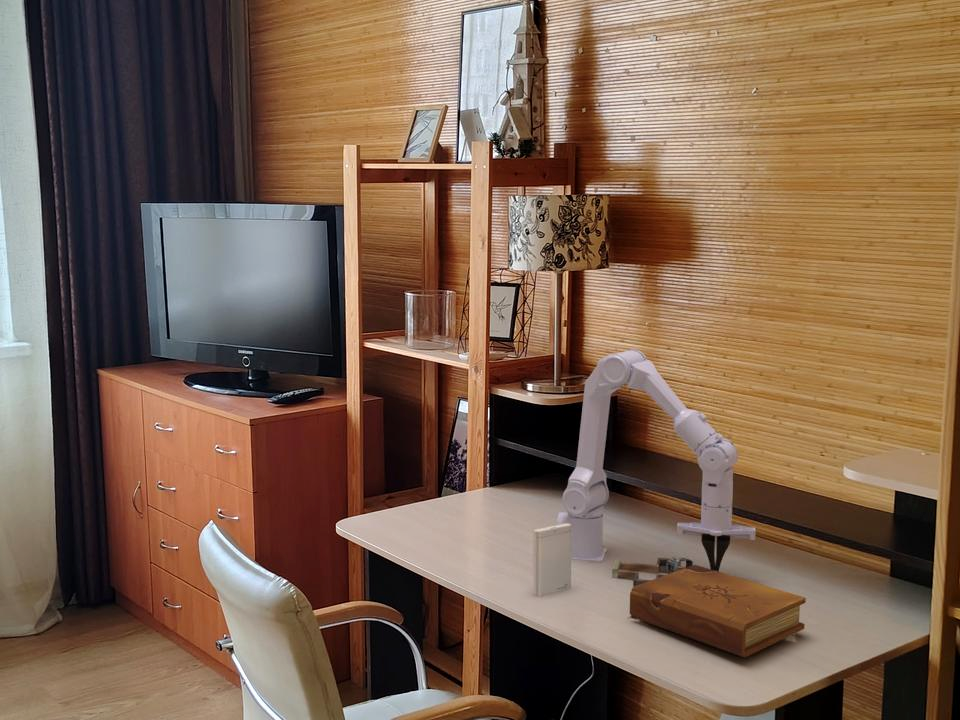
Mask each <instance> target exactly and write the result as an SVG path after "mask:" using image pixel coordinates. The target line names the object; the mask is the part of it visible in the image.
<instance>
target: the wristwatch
mask: <svg viewBox="0 0 960 720" xmlns="http://www.w3.org/2000/svg"><path fill="white" fill-rule="evenodd" d="M680 561H681V562H685V567H686V568H687V567H690V566H693V565H694V562H693V560H691V559H690V558H686V557H677V556H672V557H670V558H669V560H668V561H667V563H666V572H667V573H666V574H670V573H673V572H676V571H679V570H678V563H679V562H680Z"/></svg>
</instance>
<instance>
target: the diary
mask: <svg viewBox="0 0 960 720" xmlns="http://www.w3.org/2000/svg"><path fill="white" fill-rule="evenodd" d="M666 574H667V575H665V576H662V577H659V578H656V577H655V578H654V579H650V580H651V581H648V582H645V583H642V584H639V585H637V586H634V587H633V586H632V588H631V590H630V593H629V614H630V616H631V617H634V618H635V619H636V620H639V621H642V622H645V623H648V624H650V625H653V626H656V627H659V628H662V629H664V630H667V631H670V632H672V633H675V634H678V635H681V636H683V637H686V638H688V639H689V638H690V639H692V640H695V641H698V642H700V643H702V644H706V645H709V646H711V647H715V648H717V649H720V650H722V651H725V652H728V653H731V654H733V655H737V656H739V657H741V658H742V657H743V658H747V657H749V656H751V655H752V654H755V653H757V652H759V651H761V650H763V649H765V648H767V647H770V646H772V645H773V644H776V643H778V642H780V641H782V640H784V639H786V638H789V637H791V636H792V635H795V634H796V633H799V632H801V631H803V630H805V623H803V622H801V621H800V613H801V612H800V611H801V606H802V605H803V604H806V603H807V602H806V601H807V599H806V597H805V596H802V595H798V594H795V593H791V592H788V591H785V590H781V589H777V588H775V587H771V586H767V585H764V584H761V583H758V582H755V581H752V580H748V579H744V578H741V577H737V576H734V575H732V574H727V573H724V572H721V571H719V572H718V571H714V570H711V568H707V567H704V566H701V565H698V564H693V566H690V567H687V568H684V569H681V570H679V571H676V572H673V573H670V574H668V573H666Z"/></svg>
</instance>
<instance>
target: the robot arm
mask: <svg viewBox="0 0 960 720" xmlns="http://www.w3.org/2000/svg"><path fill="white" fill-rule="evenodd" d="M626 384H627V386H626V389H631V390H637V391H643V392H645V393H646V394H647V395H648V396H649V397H650V398H651V399H652V401H654V402H655V403H656V404H657V405H658V406H659V407H660V408H661V409H662V410H663V411H664V413H666V414H667V415H668V416H669V417H670V419H672V421H673V430H674V432H676V434H677V435H678V436H679V437H680V439H681V440H682V441H683V442H684V443H685V444H686V446H688V447H689V449H691V451H692V452H693V453H694V454H695V455H696V456H698V457H697V464H698V466H699V468H700V469H701V471H702V480H701V507H700V508H701V509H700V510H701V512H700V516H701V517H700V522H677V527H676V530H677V531H676V532H677V533H676V535H677V536H684V535H688V536H689V535H690V536H701V544H702V547H703V549H704V551H705V553H706V556H707V558H708V561H709V562H708V563H709V567H710V568H709V569H711V570H714V571H718V572H720V567H721V564H722V561H723V558H724V556H725V553H726V552H727V550H728V547H729V546H730V545H731V538H733V539H748V540H750V541H755V540H756V527H753V526H744V525H737V524H733V523H732V522H733V517H732V516H733V496H734V495H733V493H734V491H733V489H734V480H733V479H734V468H733V466H735V464H736V463H737V461H738V457H739V453H738V450H737V447H736V446H735V445H734V442H732V440H730V439H728V438H724V436H723V435H722V434H721V433H717V432H716V430H715V429H714V428H713V427H712V426H711V424H710V423H709V422H708V421H707V420H706V419H707V416H706V415H705V414H704V412H701V413H700V412H699V411H698V410H696V409H689V408H687V407H686V406H685V405H684V403H683V402H682V400H681V399H680V398H679V397H678V396H677V395H676V393H675V392H674V391H673V389H672V388H671V387H670V386H669V384H668V383H667V381H665V380H664V378H663V377H662V376H661V374H660V372H658V370H657V368H656V366H655V364H654V363H653V361H651V360H649V359H647V356H646V355H645V354H644V353H643V352H642V351H640V350H637V349H636V348H635V349H634V348H631V349H628V350H626V351H622V352H618V353H611V354H610V353H609V354H608V355H606V356H603V358H601V359H599V360H598V361H597V364H596V367H595V368H594V369H593V370H592V373H590V375H589V376H588V378H587V379H586V381H585V383H584V389H583V401H582V408H581V409H582V411H581V419H580V427H579V439H578V447H577V457H576V466H575V468H574V470H573V471H572V473H571V474H570V476H569V478H568V479H567V481H568V482H567V486H566V488H565V490H564V491H563V494H562V496H561V501H562V505H563V508H564V509H565V511H562V512H561V511H560V512H558V515H557V519H556V525H561V524H566V523H568V524H571V560H580V561H587V562H597V563H602V562H603V560H604V558H605V556H606V553H607V548H603V545H604V506H605V504H607V502H608V501H609V494H610V492H609V488H608V484H607V477H608V476H607V474H606V472H605V470H604V468H603V467H604V459H605V450H606V449H605V448H606V441H607V434H608V433H607V431H608V423H609V415H610V407H611V405H610V404H611V397H612V396H611V395H612V394H613V393H614V392H616V391H617V390H619V389H620V388H622V387H623V386H624V385H626ZM715 547H716V549H715ZM715 550H716V554H715ZM715 555H716V557H715Z"/></svg>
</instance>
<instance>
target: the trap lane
mask: <svg viewBox="0 0 960 720" xmlns="http://www.w3.org/2000/svg"><path fill="white" fill-rule="evenodd" d="M669 559H670V558H667V557H666V558H665V557H658V558H657V560H656V564H653V563H651V564H650V563H637V562H626V561H625V562H623V561H622V559H615V561H614V564H613V566H612V571H611V575H612V577H611V578H614V579H620V580H627V581H632V582H633V583H632V584H633V586H632V588H633V587H634V586H637V585H639V584H642V583H645V582H648V581H651V580H652V579H641V578H639V577H640V576H639V575H640V574H639V573H644V574H645V573H648V574H655V575H656V576H655V579H656V578H659V577H662V576H665V575H667V574H668V573H667V572H666V563H667V561H668V560H669ZM681 562H682V561H680V562H679V563H678V570H681V569H684V568H686V566H681V564H682V563H681Z"/></svg>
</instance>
